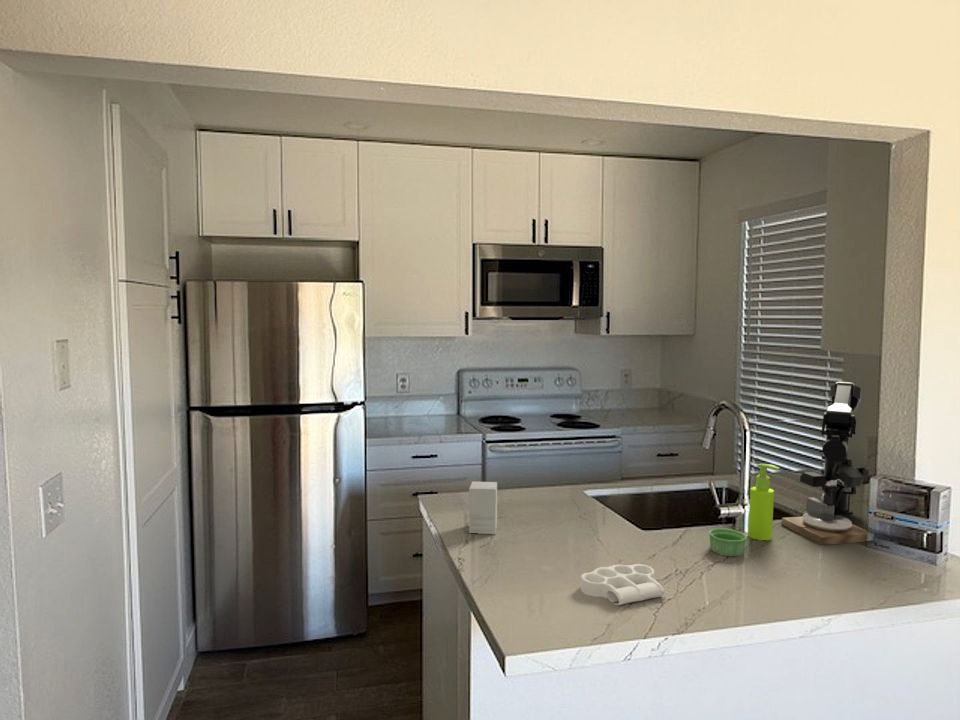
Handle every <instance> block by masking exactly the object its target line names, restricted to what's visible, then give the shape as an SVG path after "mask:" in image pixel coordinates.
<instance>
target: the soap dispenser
mask: <svg viewBox="0 0 960 720" xmlns="http://www.w3.org/2000/svg"><path fill="white" fill-rule="evenodd" d="M757 468H759V474H756V477H755V486H751V487H750V489H749V490H750V495H749V511H748V512H749V514H748V515H749V516H748V528H747V529H748V532H747V533H748V534H747V535H748V538H750V539H753V540H756V539H757V541H763V540H766V541H771V540H772V539H773V522H774V521H773V520H774V519H773V518H774V505H775V504H774V503H775V502H774V501H775V490H774V489H773V488H770V482H771V481H770V480H771V477H770V476H768V475H767V474H768V473H767V472H768V471H767V470H768V469H771V470H775V471H778V470H780V469H781V468H780V467H779V466H777V465H774V464H771V463H770V464H769V463H760V462H759V463H758V464H757Z"/></svg>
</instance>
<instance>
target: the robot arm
mask: <svg viewBox="0 0 960 720" xmlns="http://www.w3.org/2000/svg"><path fill="white" fill-rule="evenodd" d="M829 400H830V401H831V405H829V406H827V408H826V412H823V416H822V425H821V435H823V436H826V437H825V442H824V444H823V446H822V455H821V460H824V468H823V469H820V473H821V474H820V473H817V472H814V471H804V472H803V471H802V473H801V474H800V477H799V478H800V479H799V482H800V483H803V484H804V485H808V486H811V487H814V488H819V487H820V488H821V491H822V492H824V495H823V502H825V503H828V504H832V505H834V514H835V515H844V514H845V515H846V514H853V513H854V511H853V510H851V509H850V503H851V501H850V500H851V496H853V495H857V487H862V485H869V484H868V483H869V480H870V481H871V477H870V475H869V474H870V473H869V471H870V470H869V468H867V467H863V466H862V467H859V468H858V467H854V466H853V461H852V459H851V458H849V447H850V445H849V444H850V438H853V437H854V436H853V435H856V431H857V424H858V423H857V421H858V420H857V419H856V416H855V413H856V412H857V411H858V409H859V404H860V403H861V402H862V388H861V387H858V386H856V385H855V383H853V382H850V381H848V382H847V381H837V382H835V384H833V385H831V386H830V389H829Z"/></svg>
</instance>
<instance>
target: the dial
mask: <svg viewBox="0 0 960 720" xmlns="http://www.w3.org/2000/svg"><path fill="white" fill-rule="evenodd" d="M802 516H803V520H802V521H803V523H804V524H805V525H807V526H809V527H812V528H815V529H819V530H824V531H831V532H846V531H849V530H851V527H852V524H853V523H852V520H850V519H849V518H847V517H844V516H842V515H840V514H834V505H832V504H828V503H825V502H824V500H823V501H822V500H820V499H818V498H816V497H807V498H806V511H805V513H804V514H802Z"/></svg>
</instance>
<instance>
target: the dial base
mask: <svg viewBox="0 0 960 720" xmlns="http://www.w3.org/2000/svg"><path fill="white" fill-rule="evenodd" d="M802 520H803V515H802V516H787V517H781V525H782V526H784V527H785V526H786V527H785V528H787V527H788V529H789V530H791V531H794V532H795V533H798V534H800V535H802V536H803V537H806V538H807V539H809V540H811V541H813V542H815V543H817V544H819V545H822V546H825V545H827V546H828V545H838V544H839V545H841V544H850V543H851V544H852V543H862V542H864V543H865V541H866V539H867V531H868V530H867V529H865V528H861V527H860V526H857V525H855V524H853V523H852V527H851V530H849V531H846V532H831V531H824V530H819V529H815V528H812V527H809V526H807V525H805V524H804V523H803V521H802ZM866 542H867V541H866Z"/></svg>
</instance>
